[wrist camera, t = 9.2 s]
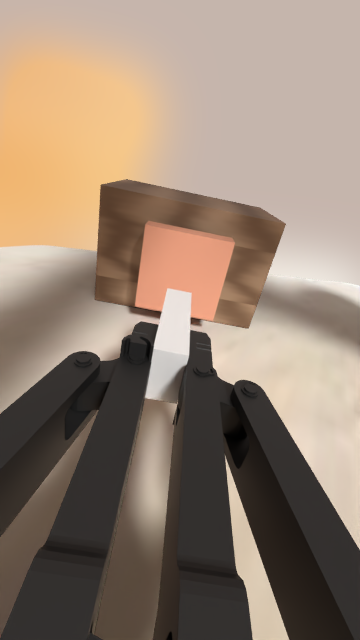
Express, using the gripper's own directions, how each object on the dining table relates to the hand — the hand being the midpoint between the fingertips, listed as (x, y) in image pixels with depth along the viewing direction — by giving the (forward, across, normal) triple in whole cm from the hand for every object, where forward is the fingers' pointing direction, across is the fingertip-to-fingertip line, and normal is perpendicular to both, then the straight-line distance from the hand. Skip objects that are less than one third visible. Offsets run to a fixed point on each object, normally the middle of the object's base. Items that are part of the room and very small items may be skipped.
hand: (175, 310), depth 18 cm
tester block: (+19, 0, -7) cm, 21 cm away
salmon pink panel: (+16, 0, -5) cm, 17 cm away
